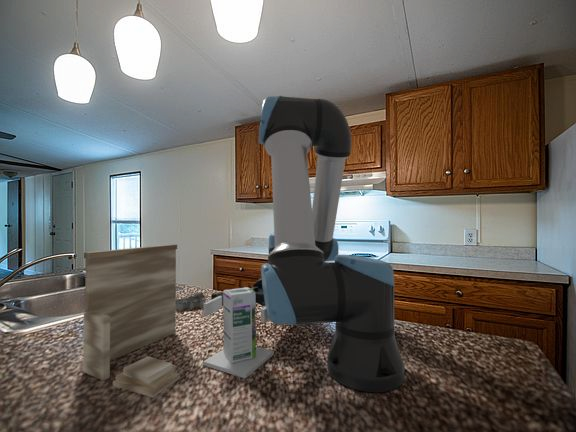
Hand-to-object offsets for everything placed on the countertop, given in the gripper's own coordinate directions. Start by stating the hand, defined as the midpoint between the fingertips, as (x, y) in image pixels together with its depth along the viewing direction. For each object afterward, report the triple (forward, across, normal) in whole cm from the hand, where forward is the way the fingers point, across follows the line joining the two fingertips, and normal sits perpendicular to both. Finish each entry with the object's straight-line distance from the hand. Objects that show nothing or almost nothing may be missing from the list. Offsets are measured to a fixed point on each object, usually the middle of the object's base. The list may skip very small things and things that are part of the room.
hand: (232, 313), depth 59 cm
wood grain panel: (0, +23, -11) cm, 26 cm away
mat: (-3, 0, -11) cm, 12 cm away
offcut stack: (+9, +13, -12) cm, 20 cm away
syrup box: (-3, 0, -11) cm, 11 cm away
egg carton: (-33, +35, -12) cm, 50 cm away
